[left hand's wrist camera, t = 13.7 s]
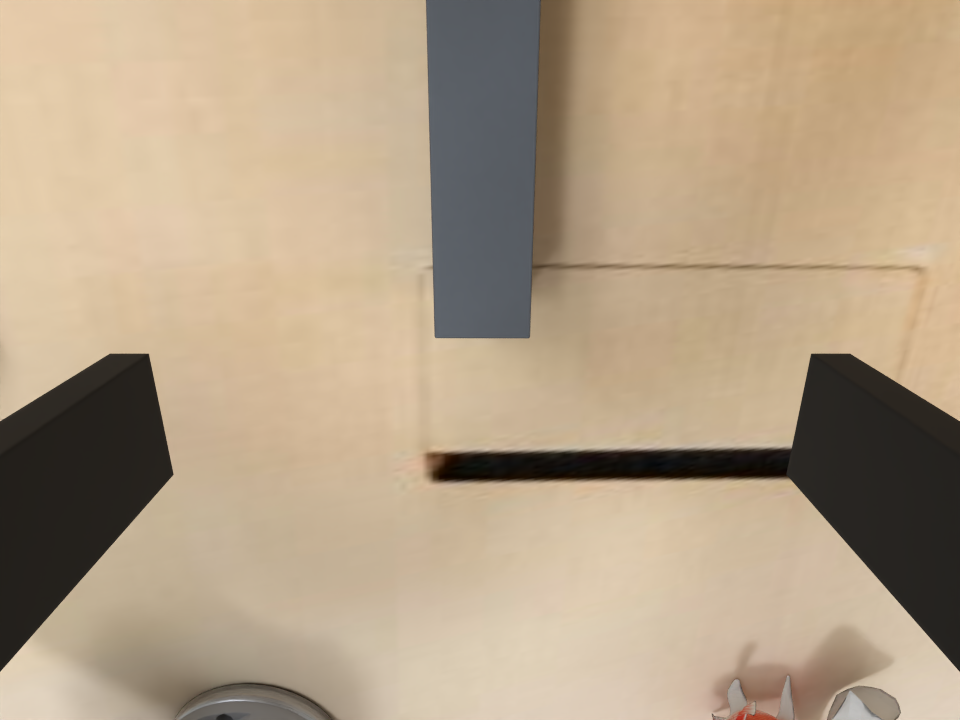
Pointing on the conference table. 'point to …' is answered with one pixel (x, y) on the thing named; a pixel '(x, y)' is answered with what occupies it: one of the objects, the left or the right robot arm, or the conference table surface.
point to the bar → (482, 163)
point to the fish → (853, 716)
